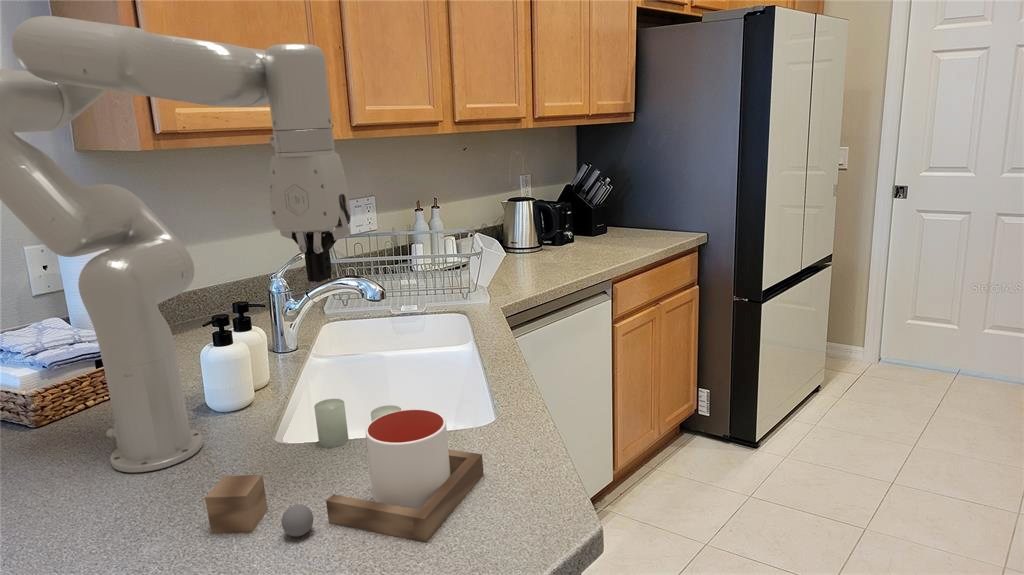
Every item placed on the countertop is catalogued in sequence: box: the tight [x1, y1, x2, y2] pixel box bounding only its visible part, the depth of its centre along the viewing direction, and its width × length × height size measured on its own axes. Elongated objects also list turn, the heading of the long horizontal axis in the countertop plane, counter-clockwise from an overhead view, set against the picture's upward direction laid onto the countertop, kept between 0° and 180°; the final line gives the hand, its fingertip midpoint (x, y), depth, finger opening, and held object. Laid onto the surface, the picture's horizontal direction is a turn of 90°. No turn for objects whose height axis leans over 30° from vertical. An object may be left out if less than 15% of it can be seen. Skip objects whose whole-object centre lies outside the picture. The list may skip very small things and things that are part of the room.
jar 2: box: [370, 404, 402, 422], centre depth 102 cm, size 4×4×6 cm
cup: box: [364, 408, 451, 510], centre depth 88 cm, size 10×10×10 cm
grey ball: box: [281, 503, 314, 537], centre depth 82 cm, size 4×4×4 cm
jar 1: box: [313, 398, 349, 449], centre depth 105 cm, size 4×4×6 cm
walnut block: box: [204, 474, 268, 535], centre depth 85 cm, size 5×5×5 cm
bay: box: [325, 448, 485, 543], centre depth 88 cm, size 14×16×3 cm
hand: (320, 279), depth 95 cm, fingers closed
